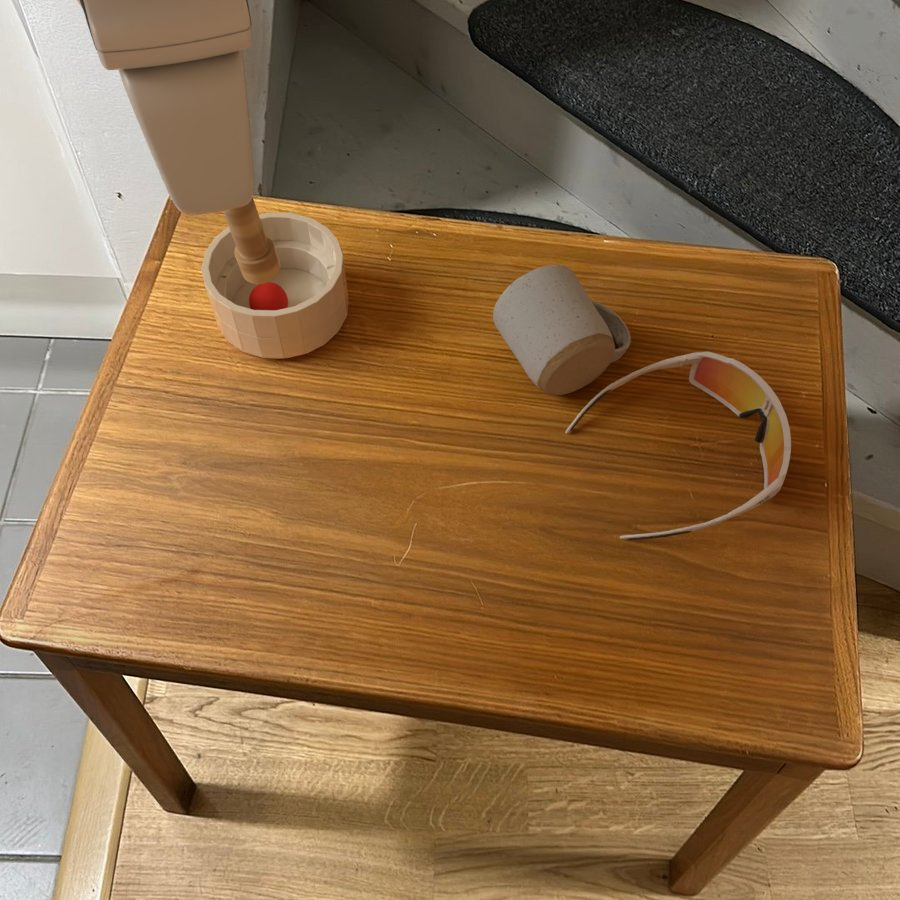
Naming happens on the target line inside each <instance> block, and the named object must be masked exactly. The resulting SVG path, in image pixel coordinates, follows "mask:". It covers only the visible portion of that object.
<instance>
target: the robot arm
mask: <svg viewBox="0 0 900 900" xmlns="http://www.w3.org/2000/svg"><path fill="white" fill-rule="evenodd" d="M76 1H77V2H78V4H79V6H80V7H81V8H82V11H83V13H84V17H85V20H86V24H87V27H88V31H89V33H90V36H91V40H92V43H93V45H94V48H95V50H96V52H97V55H98V58H99V62H100V63H101V65H102V67H103V68H104V69H105V70H107V71H118V72H119V76H120V80H121V82H122V84H123V87H124V90H125V93H126V95H127V98H128V100H129V103H130V106H131V107H132V110H133V113H134V115H135V118H136V120H137V123H138V125H139V127H140V130H141V132H142V135H143V137H144V139H145V142H146V144H147V148H148V150H149V151H150V155H151V156H152V158H153V161H154V163H155V166H156V168H157V171H158V173H159V175H160V177H161V180H162V182H163V184H164V187H165V189H166V191H167V194H168V196H169V197H170V199H171V201H172V203H173V205H174V206H175V207H176V209H177V210H178V211H179V212H180V213H181V214H183V215H184V216H188V217H196V216H204V215H210V214H217V213H221V212H222V213H223V211H226V210H231V209H235V208H240V207H243V206H245V205H247V204H248V203H249V202H250V201H251V199H252V197H253V194H254V190H255V188H254V187H255V173H254V162H253V159H254V158H253V149H252V134H251V125H250V124H251V123H250V112H249V102H248V101H249V100H248V92H247V91H248V90H247V83H246V74H245V65H244V57H243V53H242V51H243V50H248V49H250V48H251V47H252V46H253V43H254V34H253V28H252V26H253V25H252V17H251V13H250V6H249V1H248V0H76Z"/></svg>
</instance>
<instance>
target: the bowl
mask: <svg viewBox="0 0 900 900" xmlns="http://www.w3.org/2000/svg"><path fill="white" fill-rule="evenodd" d="M258 214H259V217H260V220H261V223H262V226H263V229H264V232H265V235H266V236H267V237H268V238H270V239H271V240H272V242H273V244H274V247H275V250H276V253H277V256H278V259H279V262H280V266H281V267H280V272H279V274H278V275H277V276H276V277H275V278H274V279H273V280H272V281H270V282H272V283H275V284H277V285H279V286H280V287H282V288H283V289H284V291H285V292H286V294H287V297H288V307H287V308H285V309H280V310H253V309H250V305H249V296H250V293H251V291H252V290H253V289H254V288H255V287H256V286H257V285H259V284H252V283H250V282H248V281H247V280H245V279H244V277H243V275H242V272H241V270H240V267H239V265H238V262H237V260H236V257H235V254H234V251H235V247H236V244H235V242H234V239H233V236H232V234H231V231H230V229H229V226H228V225H227V227H226V228H225V229H223V230H222V231H221V232H220V233H218V234H217V235H216V236H214V238H213V240H212V241H211V243H210V244H209V245H208V247H207V248H206V250H205V251H204V255H203V258H202V264H201V275H202V279H203V283H204V287H205V290H206V293H207V297H208V300H209V303H210V306H211V310H212V313H213V316H214V319H215V322H216V325H217V328H218V330H219V331H220V332H221V334H222V335H223V337H224V338H225V340H226V342H228V343H229V344H230V345H232V346H234V347H235V348H237V349H238V350H240V351H241V352H243V353H245V354H249V355H252V356H255V357H259V358H264V359H288V358H293V357H297V356H298V357H299V356H303V355H307V354H309V353H311V352H313V351H315V350H316V349H319V348H320V347H323V346H325V345H326V344H327V343H328V342H329V341H330V340H331V339H332V338H333V337H334V336H336V334H337V333H339V331H340V330H341V327H342V326H343V324H344V322H345V320H346V318H347V315H348V310H349V301H350V299H349V292H348V283H347V274H346V266H345V259H344V253H343V250H342V247H341V245H340V242H339V239H338V238H337V237H336V236H335V234H333V232H332V231H331V230H330V229H329V228H328V227H327V226H326V225H325V224H322V223H321V222H319V221H318V220H316V219H314V218H312V217H309V216H307V215H306V216H305V215H303V214H298V213H294V212H282V211H280V212H279V211H277V212H276V211H271V212H264V213H258Z"/></svg>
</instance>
